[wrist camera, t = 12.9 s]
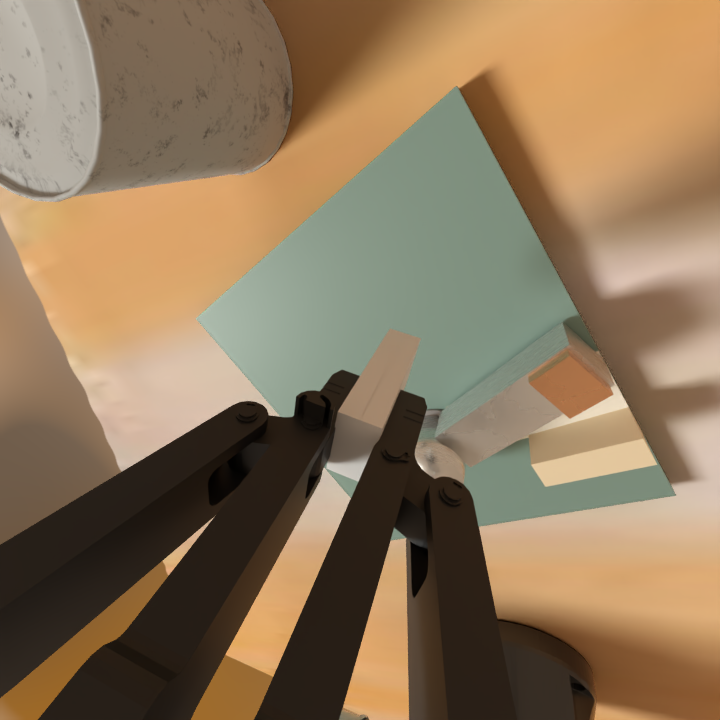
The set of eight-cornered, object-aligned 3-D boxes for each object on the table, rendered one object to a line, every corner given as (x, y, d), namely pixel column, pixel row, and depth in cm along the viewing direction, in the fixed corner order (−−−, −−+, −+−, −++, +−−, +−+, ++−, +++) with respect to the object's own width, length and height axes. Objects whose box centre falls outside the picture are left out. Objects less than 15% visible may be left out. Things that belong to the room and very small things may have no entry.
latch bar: (439, 468, 29) (432, 509, 26) (398, 434, 29) (384, 472, 25) (610, 364, 21) (629, 406, 17) (554, 314, 20) (564, 348, 17)
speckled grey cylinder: (326, 77, 19) (141, 14, 10) (241, 207, 25) (67, 254, 15) (190, -89, 18) (-204, -373, 8) (131, 90, 23) (-147, 55, 13)
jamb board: (669, 481, 25) (695, 536, 21) (390, 530, 38) (379, 569, 34) (459, 88, 18) (448, 77, 14) (205, 312, 31) (168, 334, 27)
